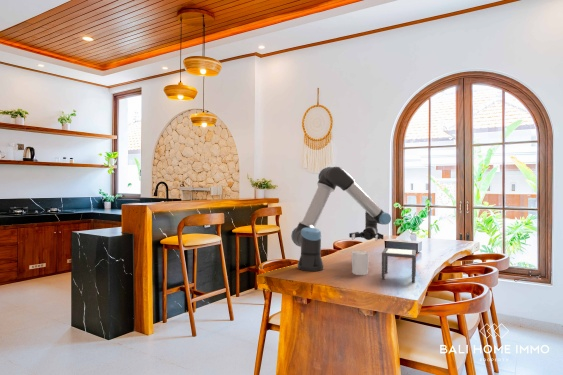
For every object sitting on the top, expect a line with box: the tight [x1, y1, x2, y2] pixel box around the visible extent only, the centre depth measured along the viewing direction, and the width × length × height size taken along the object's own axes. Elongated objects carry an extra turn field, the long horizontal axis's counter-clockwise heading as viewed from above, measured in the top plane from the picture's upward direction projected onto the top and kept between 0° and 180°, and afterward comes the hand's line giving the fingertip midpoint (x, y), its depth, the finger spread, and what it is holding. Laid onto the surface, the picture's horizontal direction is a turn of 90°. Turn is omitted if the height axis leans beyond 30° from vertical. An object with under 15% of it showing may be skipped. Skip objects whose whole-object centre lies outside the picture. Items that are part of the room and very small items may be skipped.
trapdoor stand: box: [381, 247, 417, 284], centre depth 208 cm, size 17×18×14 cm
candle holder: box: [351, 250, 370, 276], centre depth 216 cm, size 10×10×12 cm
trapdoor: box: [386, 248, 414, 255], centre depth 208 cm, size 13×14×1 cm
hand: (364, 237), depth 225 cm, fingers open, 13 cm apart
